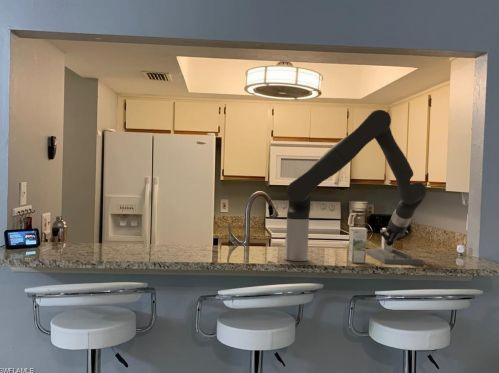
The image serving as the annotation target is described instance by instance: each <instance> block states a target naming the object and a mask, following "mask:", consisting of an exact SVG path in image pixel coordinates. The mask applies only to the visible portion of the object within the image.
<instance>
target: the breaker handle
mask: <svg viewBox="0 0 499 373" xmlns="http://www.w3.org/2000/svg"><path fill="white" fill-rule="evenodd" d="M381 229H383V230H384V229H386V227H382V228H381ZM386 234H387V236H388V233H387V232H386ZM393 246H394V243H393V244H392V245H391V246H388V245H387V244H386V240H385V239H384V237H383V236H382V235H381V248H382V249H384V250H386V251H388V252H392V249H393V248H394V247H393Z"/></svg>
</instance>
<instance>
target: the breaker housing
mask: <svg viewBox="0 0 499 373" xmlns="http://www.w3.org/2000/svg"><path fill="white" fill-rule="evenodd" d="M366 255H367V256H370V257H371V258H372V259H375V260H377V261H379V262H380V263H382V264H384V265H414V266H415V265H416V266H423V264H424V260H423V259H421V258H419V257H416V256H414V255H411V254H409V253H407V252H404V251H402V250H400V249H396V248H394V247H393V249H392V252H388V251H386V250H384V249H382V247H377V246H376V249H366Z"/></svg>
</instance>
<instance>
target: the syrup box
mask: <svg viewBox="0 0 499 373" xmlns="http://www.w3.org/2000/svg"><path fill="white" fill-rule="evenodd" d="M348 231H349V232H348V234H349V236H348V237H349V238H348V255H347V256H348V258H347V260H348V262H350V263H352V264H366V260H367V259H366V255H367V254H366V250H367V238H368V237H367V234H368V229H367V228H366V227H360V226H355V227H354V226H350V227H349V230H348Z"/></svg>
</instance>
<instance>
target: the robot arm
mask: <svg viewBox="0 0 499 373" xmlns="http://www.w3.org/2000/svg"><path fill="white" fill-rule="evenodd" d="M391 118H392V117H391V115H390V113H389V112H387V111H386V110H384V109H383V110H382V109H376V110H373V111H372V112H370V113H369V115H367V117H366V118H365V119H364V120H363V121H362V122H361V123H360V124H359V126H357V128H355V130H353V131H352V132H350V133H349V134H347V135H346V136H345V137H343V138H342V139H341V140H339V141H338V142H337V143H335V144H334V145H333V146H332V147H331V148H329V149H328V150H327V151H326V152H325V153H324V154H323V155H321V157H320V158H319V159H317V161H316V162H314V164H313V165H312V166H311V167H310V168H308V170H307V171H306V172H304V173H303V174H302V175H300V176H299V177H298V178H296V179H295V180H292V181H291V182H290V183H288V186H287V188H286V196H287V198H288V208H287V213H286V231H285V232H286V233H285V234H286V235H285V242H284V244H285V245H284V247H285V248H284V259H285V260H286V261H291V262H307V261H308V260H309V259H308V256H309V254H308V253H309V232H310V230H309V229H310V228H309V227H310V213H311V198H312V193H313V191H314V190H315V189H316V188H317V187H318V186H319V185H320V184H322V183H324V181H326V180H328V179H330V178H331V177H333V176H334V175H336V174H337V173H338V172H340V171H341V170H343V168H344V167H346V165H348V164H349V163H350V162H352V160H353V159H355V157H356V156H357V155H358V154H359V153H360V152H361V151H362V150H363V148H365V147H366V146H367V145H368V144H369V143H370V142H372V141H373V140H376V142H377V144H378V146H379V147H380V149H381V151H382V153H383V155H384V157H385V159H386V161H387V164H388V166H389V168H390V170H391V172H392V174H393V176H394V178H395V181H396V187H397V191H398V196H399V198H400V201H399V202H398V203H397V206H396V208H395V210H394V211H393V213H392V215H391V217H390V220H389V221H388V225H387V226H386V227H385V228H386V229H384V230H383V229H382V228H380V229H379V231H380V234H381V237H382V236H383V237H384V239H385V240H386V244H387V245H388V246H391V245H392V244H393V245H394V243H395V241H397V242H399V241H401V240H402V239H404V238H406V237H408V236H409V235H410V233H409V231H408V227H409V225H410V223H411V221H412V217H413V215H414V213H415V211H416V209H417V208H418V207H419V206H420V205H421V204H422V202H423V201H424V199H425V197H426V196H427V187H426V185H425V184H424V183H423V182H420V181H415V182H412V183H411V179H412V178H413V176H414V171H413V169H412V166H411V164H410V163H409V161H408V159H407V158H406V155H405V154H404V152H403V151H402V149H401V148H400V146H399V145H398V143H397V141H396V139H395V138H394V136H393V133H392V130H391V124H392V119H391ZM386 232H387V233H388V236H387V234H386Z"/></svg>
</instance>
